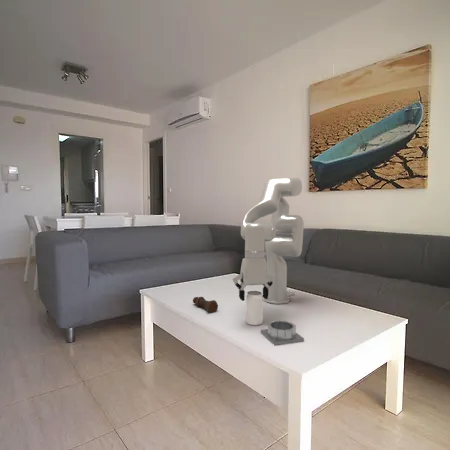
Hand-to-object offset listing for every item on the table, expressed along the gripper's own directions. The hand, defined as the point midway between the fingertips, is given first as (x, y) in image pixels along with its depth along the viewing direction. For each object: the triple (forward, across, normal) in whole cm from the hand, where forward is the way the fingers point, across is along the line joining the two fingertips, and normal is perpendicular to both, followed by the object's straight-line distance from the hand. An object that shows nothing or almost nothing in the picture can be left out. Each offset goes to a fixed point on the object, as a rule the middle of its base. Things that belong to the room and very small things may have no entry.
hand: (253, 299), depth 118 cm
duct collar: (+10, -5, +14) cm, 18 cm away
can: (+10, -1, -1) cm, 10 cm away
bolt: (+10, +14, -24) cm, 30 cm away
